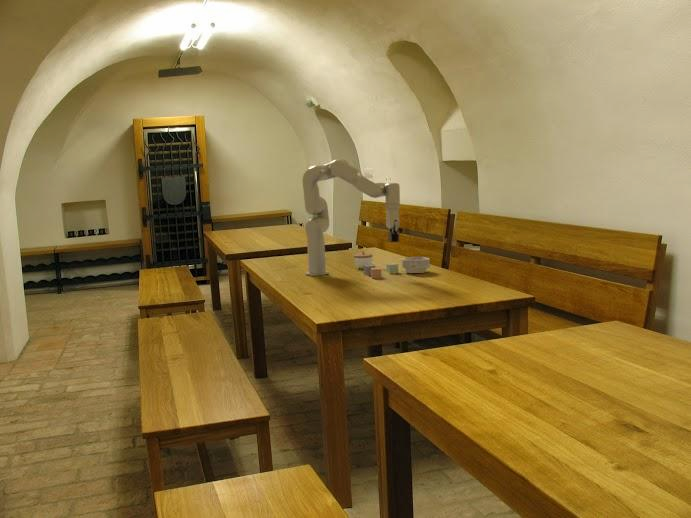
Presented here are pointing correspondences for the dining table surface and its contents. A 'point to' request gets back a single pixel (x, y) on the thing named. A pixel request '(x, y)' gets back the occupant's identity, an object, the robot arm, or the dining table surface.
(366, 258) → the lidded jar
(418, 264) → the paper bowls
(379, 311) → the dining table surface
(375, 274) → the terracotta block
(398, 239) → the walnut block
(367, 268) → the slate block
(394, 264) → the sage block
